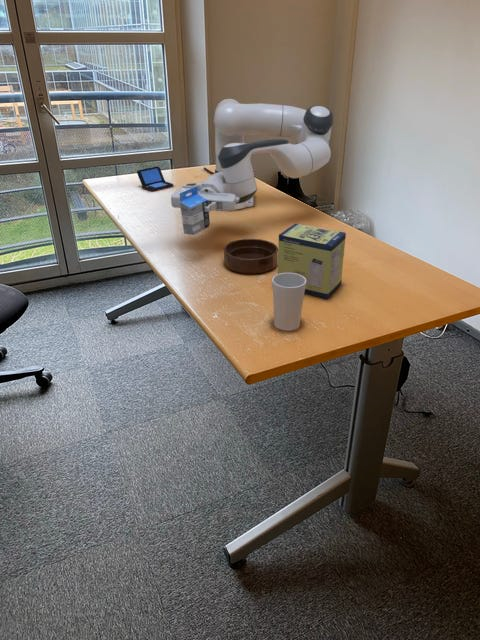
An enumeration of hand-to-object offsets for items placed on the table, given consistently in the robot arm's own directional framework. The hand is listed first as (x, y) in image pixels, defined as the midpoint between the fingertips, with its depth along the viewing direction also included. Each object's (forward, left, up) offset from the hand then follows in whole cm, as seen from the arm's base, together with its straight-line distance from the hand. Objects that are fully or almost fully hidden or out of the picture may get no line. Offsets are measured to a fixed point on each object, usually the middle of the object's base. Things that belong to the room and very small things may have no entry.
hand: (196, 209), depth 150 cm
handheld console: (-72, -42, -16) cm, 85 cm away
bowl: (+1, +17, -16) cm, 23 cm away
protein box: (+12, +36, -16) cm, 41 cm away
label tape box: (+1, 0, -7) cm, 7 cm away
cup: (+34, +33, -16) cm, 50 cm away
